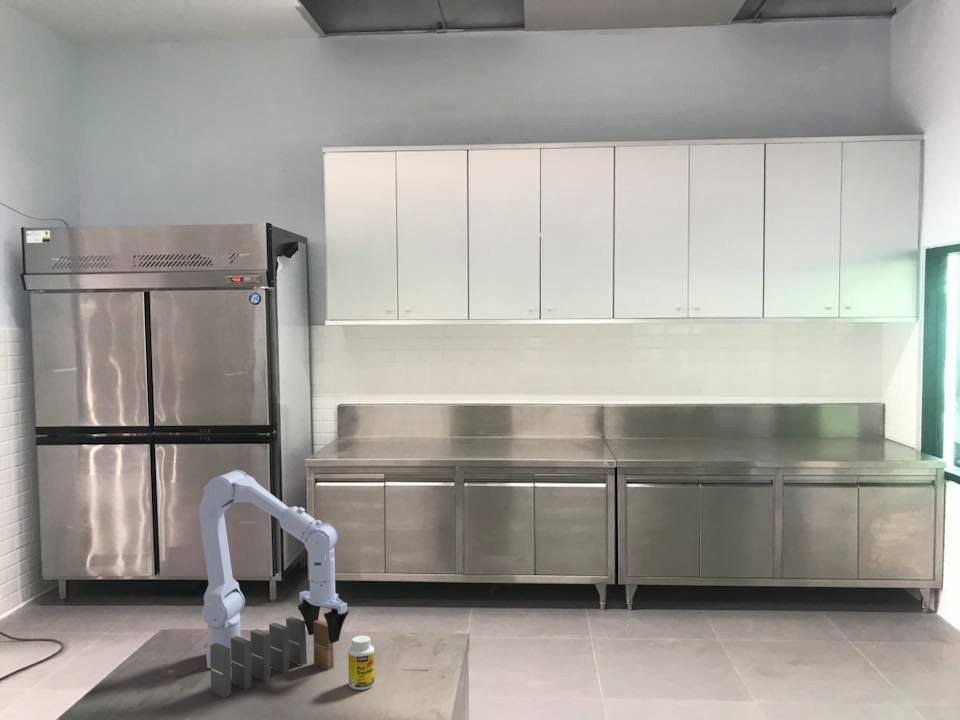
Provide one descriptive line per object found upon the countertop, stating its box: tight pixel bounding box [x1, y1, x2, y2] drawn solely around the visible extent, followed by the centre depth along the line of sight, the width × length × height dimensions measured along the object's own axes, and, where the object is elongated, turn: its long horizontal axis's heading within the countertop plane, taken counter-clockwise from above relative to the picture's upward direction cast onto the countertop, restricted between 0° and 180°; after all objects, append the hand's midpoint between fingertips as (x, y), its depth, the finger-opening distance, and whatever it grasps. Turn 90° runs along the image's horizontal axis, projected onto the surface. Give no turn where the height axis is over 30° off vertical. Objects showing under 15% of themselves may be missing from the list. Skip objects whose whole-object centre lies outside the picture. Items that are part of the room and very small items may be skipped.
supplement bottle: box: [347, 635, 375, 691], centre depth 169 cm, size 6×6×10 cm
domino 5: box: [285, 616, 308, 666], centre depth 182 cm, size 2×5×10 cm, turn 51°
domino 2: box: [231, 636, 252, 690], centre depth 170 cm, size 2×5×10 cm, turn 51°
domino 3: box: [249, 628, 272, 682], centre depth 174 cm, size 2×5×10 cm, turn 51°
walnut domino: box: [312, 619, 335, 671], centre depth 179 cm, size 2×5×10 cm, turn 51°
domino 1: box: [210, 643, 232, 699], centre depth 166 cm, size 2×5×10 cm, turn 51°
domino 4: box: [268, 622, 290, 674], centre depth 178 cm, size 2×5×10 cm, turn 51°
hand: (323, 637), depth 179 cm, fingers open, 7 cm apart
